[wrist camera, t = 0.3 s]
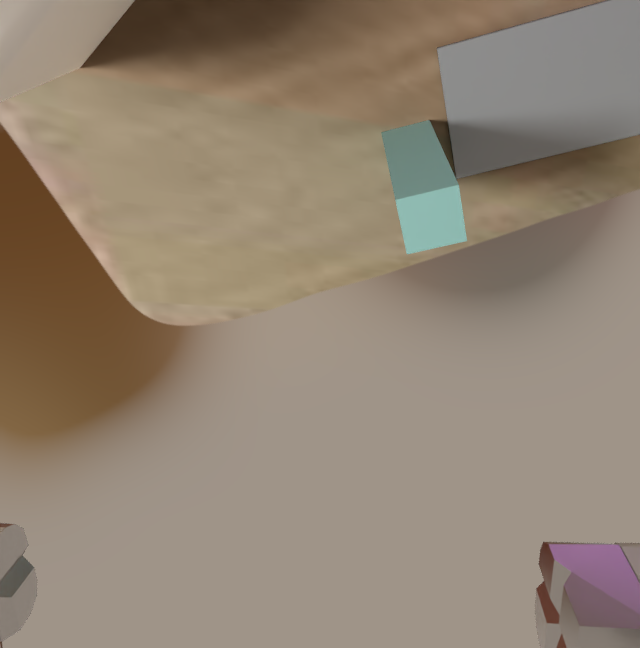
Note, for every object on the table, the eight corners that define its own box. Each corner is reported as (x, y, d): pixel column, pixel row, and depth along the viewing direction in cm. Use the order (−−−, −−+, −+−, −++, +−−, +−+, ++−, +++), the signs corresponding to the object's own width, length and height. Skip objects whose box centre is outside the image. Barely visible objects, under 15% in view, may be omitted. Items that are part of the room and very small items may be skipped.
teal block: (390, 177, 58) (406, 254, 45) (381, 132, 56) (395, 200, 43) (436, 166, 58) (466, 240, 44) (429, 120, 55) (458, 184, 42)
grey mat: (456, 177, 58) (456, 178, 58) (436, 47, 52) (437, 48, 51) (651, 129, 55) (653, 131, 55) (657, -14, 49) (659, -14, 48)
